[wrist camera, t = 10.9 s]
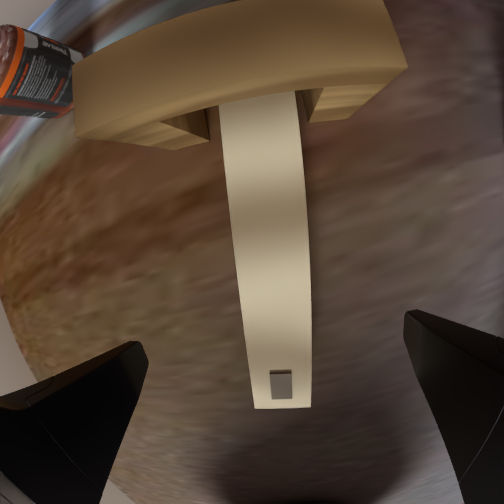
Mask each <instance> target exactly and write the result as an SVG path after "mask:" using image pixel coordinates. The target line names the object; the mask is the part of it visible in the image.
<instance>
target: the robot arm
mask: <svg viewBox="0 0 504 504" xmlns="http://www.w3.org/2000/svg"><path fill="white" fill-rule="evenodd" d="M403 337H404V342H405V344H406V347H407V350H408V353H409V356H410V359H411V362H412V365H413V368H414V371H415V374H416V377H417V379H418V381H419V384H420V386H421V388H422V390H423V392H424V395H425V397H426V399H427V401H428V404H429V406H430V408H431V411H432V413H433V415H434V418H435V420H436V423H437V425H438V428H439V430H440V433H441V435H442V438H443V440H444V443H445V446H446V448H447V451H448V454H449V456H450V459H451V462H452V465H453V468H454V471H455V474H456V477H457V480H458V482H459V487H460V490H461V493H462V497H463V500H464V503H465V504H504V338H501V337H496V336H495V335H492V334H489V333H486V332H483V331H480V330H477V329H474V328H471V327H468V326H465V325H462V324H459V323H456V322H453V321H450V320H447V319H444V318H441V317H438V316H435V315H432V314H430V313H427V312H424V311H421V310H418V309H415V310H411V311H407V312H406V313H405V317H404V332H403ZM147 369H148V359H147V356H146V354H145V351H144V349H143V346H142V344H141V343H140V342H139V341H129V342H127V343H124V344H122V345H120V346H118V347H116V348H114V349H112V350H110V351H107V352H105V353H103V354H101V355H99V356H97V357H94V358H92V359H90V360H88V361H86V362H84V363H81V364H79V365H77V366H75V367H73V368H70V369H68V370H66V371H64V372H61V373H59V374H57V375H55V376H52V377H50V378H48V379H46V380H43V381H41V382H38V383H36V384H34V385H31V386H29V387H26V388H23V389H20V390H18V391H15V392H12V393H9V394H6V395H3V396H0V504H99V502H100V500H101V497H102V493H103V490H104V488H105V485H106V482H107V479H108V477H109V474H110V471H111V468H112V466H113V463H114V460H115V458H116V455H117V452H118V450H119V447H120V445H121V442H122V439H123V437H124V434H125V432H126V429H127V427H128V424H129V422H130V419H131V417H132V414H133V412H134V409H135V407H136V404H137V402H138V399H139V396H140V393H141V389H142V386H143V382H144V379H145V376H146V372H147Z"/></svg>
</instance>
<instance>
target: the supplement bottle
mask: <svg viewBox="0 0 504 504" xmlns="http://www.w3.org/2000/svg"><path fill="white" fill-rule="evenodd" d="M84 58H86V56H85V55H84V54H83V53H81V52H79V51H78V50H76V49H74V48H71V47H69V46H66V45H65V44H62V43H59V42H57V41H54V40H52V39H49V38H47V37H44V36H41V35H39V34H37V33H34V32H31V31H29V30H26V29H23V28H20V27H16V26H14V25H2V26H0V114H4V115H17V116H29V117H38V118H48V119H49V118H51V119H54V118H60V117H62V116H64V115H65V114H67V113H68V112H69V111H71V110H72V109H73V87H72V65H74V64H75V63H77V62H79V61H80V60H82V59H84Z"/></svg>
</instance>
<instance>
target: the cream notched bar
mask: <svg viewBox="0 0 504 504" xmlns="http://www.w3.org/2000/svg"><path fill="white" fill-rule="evenodd" d="M219 114H220V124H221V134H222V144H223V154H224V164H225V173H226V182H227V192H228V201H229V210H230V219H231V227H232V236H233V245H234V253H235V262H236V270H237V278H238V286H239V294H240V302H241V310H242V318H243V326H244V333H245V341H246V348H247V356H248V363H249V370H250V378H251V385H252V392H253V399H254V406H255V409H275V408H303V407H311V376H312V321H311V281H310V256H309V237H308V221H307V206H306V193H305V181H304V170H303V159H302V149H301V140H300V130H299V122H298V113H297V105H296V98H295V91H289V92H283V93H276V94H270V95H264V96H259V97H253V98H248V99H243V100H238V101H234V102H229V103H225V104H220V105H219Z"/></svg>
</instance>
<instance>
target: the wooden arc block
mask: <svg viewBox="0 0 504 504" xmlns="http://www.w3.org/2000/svg"><path fill="white" fill-rule="evenodd" d="M407 67H408V66H407V63H406V60H405V56H404V53H403V50H402V48H401V45H400V42H399V39H398V36H397V34H396V31H395V28H394V26H393V23H392V21H391V18H390V16H389V14H388V11H387V9H386V7H385V4H384V2H383V0H239V1H234V2H230V3H225V4H221V5H217V6H213V7H209V8H205V9H202V10H198V11H195V12H191V13H188V14H185V15H182V16H179V17H176V18H173V19H170V20H167V21H164V22H161V23H159V24H156V25H153V26H151V27H148V28H146V29H143V30H141V31H139V32H136V33H134V34H132V35H129V36H127V37H125V38H123V39H121V40H118V41H116V42H114V43H112V44H110V45H108V46H106V47H104V48H102V49H100V50H99V51H97V52H95V53H93V54H91V55H89V56H87V57H86V58H84V59H82V60H80V61H79V62H77V63H75V64H74V65H72V87H73V108H74V122H75V133H76V137H78V138H88V139H98V140H107V141H115V142H123V143H131V144H138V145H145V146H152V147H158V148H164V149H170V150H176V149H180V148H184V147H188V146H192V145H196V144H200V143H204V142H208V141H210V138H209V133H208V127H207V122H206V116H205V110H204V108H208V107H212V106H216V105H220V104H225V103H229V102H234V101H238V100H243V99H248V98H253V97H259V96H264V95H270V94H276V93H283V92H289V91H297V90H301V92H302V96H303V100H304V105H305V110H306V114H307V119H308V123H313V122H322V121H331V120H341V119H347V118H349V117H350V116H351V115H352V114H353V113H354V112H356V111H357V110H358V109H359V108H360V107H361V106H362V105H364V104H365V103H366V102H367V101H368V100H369V99H371V98H372V97H373V96H374V95H375V94H376V93H378V92H379V91H380V90H381V89H382V88H384V87H385V86H386V85H387V84H388V83H389V82H391V81H392V80H393V79H394V78H395V77H397V76H398V75H399V74H400V73H401V72H403V71H404V70H405V69H406V68H407Z"/></svg>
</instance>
